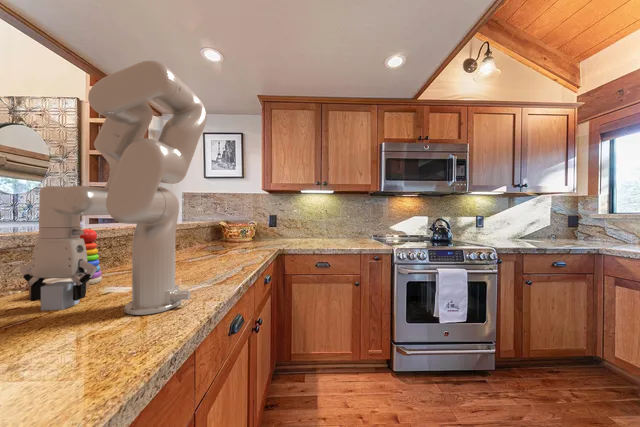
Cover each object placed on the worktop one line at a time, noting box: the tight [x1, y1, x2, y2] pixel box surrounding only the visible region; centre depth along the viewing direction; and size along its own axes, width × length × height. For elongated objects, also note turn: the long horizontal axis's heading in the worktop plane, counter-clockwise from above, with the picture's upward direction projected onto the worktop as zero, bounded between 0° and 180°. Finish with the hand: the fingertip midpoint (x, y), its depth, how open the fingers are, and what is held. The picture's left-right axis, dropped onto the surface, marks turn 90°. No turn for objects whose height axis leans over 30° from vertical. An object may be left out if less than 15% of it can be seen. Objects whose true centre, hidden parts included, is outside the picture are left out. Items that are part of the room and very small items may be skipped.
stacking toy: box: [80, 228, 103, 286], centre depth 87 cm, size 8×8×19 cm
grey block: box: [40, 281, 80, 312], centre depth 66 cm, size 5×5×6 cm
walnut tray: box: [28, 278, 90, 300], centre depth 76 cm, size 9×9×4 cm
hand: (58, 299), depth 66 cm, fingers open, 9 cm apart
